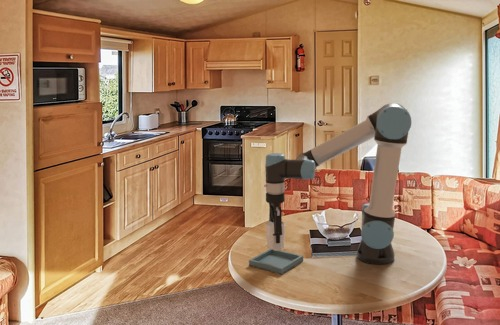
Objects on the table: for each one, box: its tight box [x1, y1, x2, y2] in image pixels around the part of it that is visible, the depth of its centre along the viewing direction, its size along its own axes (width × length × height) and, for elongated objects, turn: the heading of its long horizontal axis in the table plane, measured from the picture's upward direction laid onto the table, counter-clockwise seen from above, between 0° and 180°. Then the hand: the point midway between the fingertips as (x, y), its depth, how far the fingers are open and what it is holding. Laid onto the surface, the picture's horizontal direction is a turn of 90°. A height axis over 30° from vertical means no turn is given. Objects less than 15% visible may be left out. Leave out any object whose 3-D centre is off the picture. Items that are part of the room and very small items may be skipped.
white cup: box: [265, 220, 286, 250], centre depth 193 cm, size 8×8×10 cm
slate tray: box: [248, 248, 304, 275], centre depth 195 cm, size 16×16×2 cm
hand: (275, 246), depth 194 cm, fingers closed on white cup, 8 cm apart
